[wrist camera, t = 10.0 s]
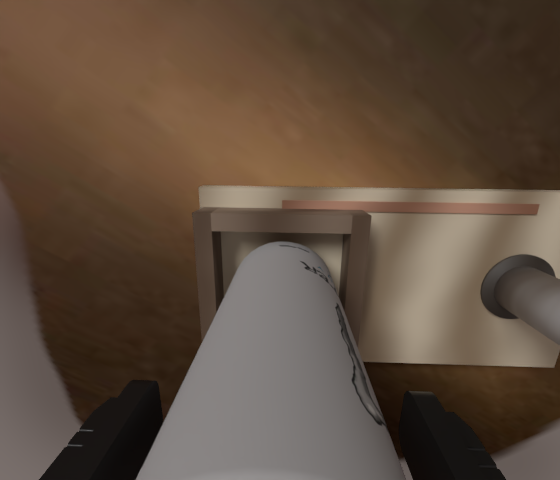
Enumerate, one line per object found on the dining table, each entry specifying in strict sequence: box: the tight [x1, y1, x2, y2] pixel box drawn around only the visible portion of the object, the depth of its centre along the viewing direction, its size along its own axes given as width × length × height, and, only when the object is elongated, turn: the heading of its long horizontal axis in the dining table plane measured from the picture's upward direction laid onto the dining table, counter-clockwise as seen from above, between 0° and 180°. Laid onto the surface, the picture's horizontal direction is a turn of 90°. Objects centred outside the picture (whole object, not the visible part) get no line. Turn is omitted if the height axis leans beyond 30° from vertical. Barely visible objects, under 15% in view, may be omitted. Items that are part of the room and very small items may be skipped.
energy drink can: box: [136, 241, 406, 480], centre depth 11 cm, size 6×6×15 cm
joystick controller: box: [192, 185, 560, 368], centre depth 14 cm, size 24×12×11 cm, turn 89°
